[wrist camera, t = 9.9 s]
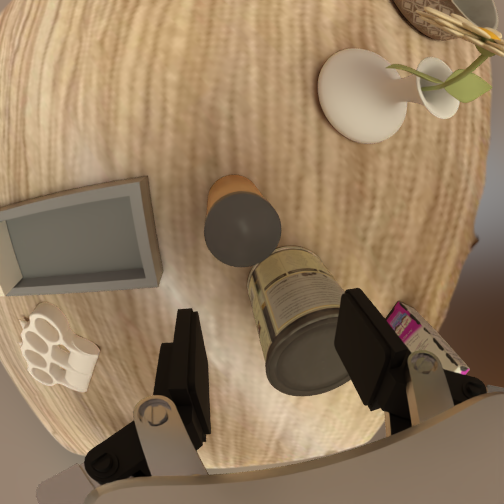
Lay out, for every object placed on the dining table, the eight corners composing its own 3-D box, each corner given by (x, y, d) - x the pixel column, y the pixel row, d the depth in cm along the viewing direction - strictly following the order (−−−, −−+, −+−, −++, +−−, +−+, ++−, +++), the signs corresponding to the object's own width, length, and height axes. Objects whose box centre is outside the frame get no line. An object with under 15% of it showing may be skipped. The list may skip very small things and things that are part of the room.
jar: (260, 223, 32) (281, 263, 23) (209, 227, 31) (208, 270, 22) (259, 172, 30) (280, 191, 20) (204, 176, 29) (200, 198, 20)
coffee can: (336, 289, 37) (385, 360, 25) (270, 327, 38) (295, 409, 26) (305, 228, 33) (359, 292, 20) (230, 273, 34) (243, 356, 21)
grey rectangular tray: (163, 271, 33) (158, 287, 29) (1, 284, 30) (-11, 296, 27) (147, 175, 28) (139, 181, 25) (-20, 214, 25) (-35, 222, 22)
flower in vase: (400, 69, 26) (580, 62, 3) (391, 151, 30) (576, 218, 8) (303, 36, 24) (470, -74, 1) (291, 129, 28) (502, 157, 6)
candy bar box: (377, 355, 45) (419, 423, 30) (359, 351, 44) (402, 425, 29) (415, 306, 42) (471, 369, 27) (398, 299, 40) (459, 367, 25)
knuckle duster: (86, 391, 41) (21, 355, 36) (107, 331, 36) (26, 285, 31) (82, 404, 38) (14, 367, 33) (101, 346, 33) (15, 297, 28)
